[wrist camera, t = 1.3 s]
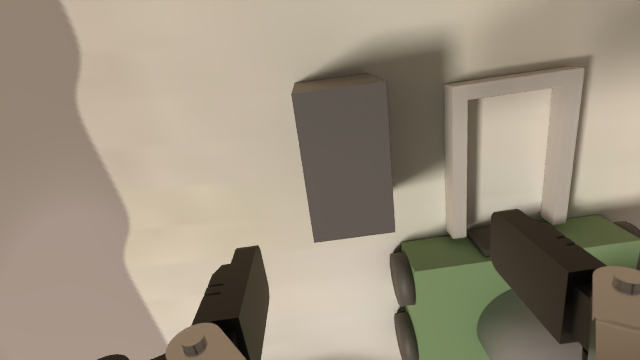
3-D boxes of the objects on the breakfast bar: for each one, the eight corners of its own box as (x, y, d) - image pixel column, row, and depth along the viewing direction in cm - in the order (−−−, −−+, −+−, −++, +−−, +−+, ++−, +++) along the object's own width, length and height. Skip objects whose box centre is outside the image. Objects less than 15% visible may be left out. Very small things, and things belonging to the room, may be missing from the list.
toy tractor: (376, 94, 25) (427, 129, 14) (637, 56, 24) (879, 64, 14) (395, 338, 32) (437, 475, 22) (593, 311, 32) (729, 436, 22)
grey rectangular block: (294, 82, 24) (291, 94, 19) (367, 72, 24) (386, 81, 19) (312, 202, 27) (314, 242, 22) (376, 193, 27) (395, 231, 22)
